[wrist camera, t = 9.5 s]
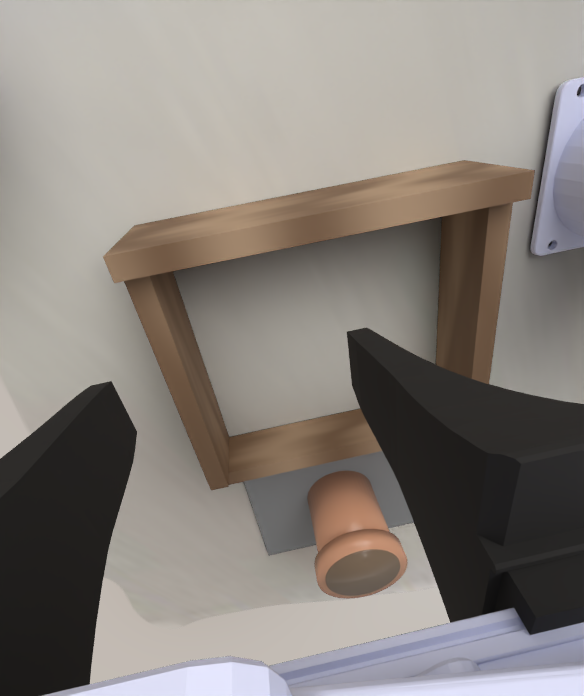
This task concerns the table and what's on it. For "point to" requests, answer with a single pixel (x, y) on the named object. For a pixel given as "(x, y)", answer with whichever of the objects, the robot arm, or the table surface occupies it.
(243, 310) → the table surface
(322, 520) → the terracotta pot
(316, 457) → the frame
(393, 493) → the slate mat
